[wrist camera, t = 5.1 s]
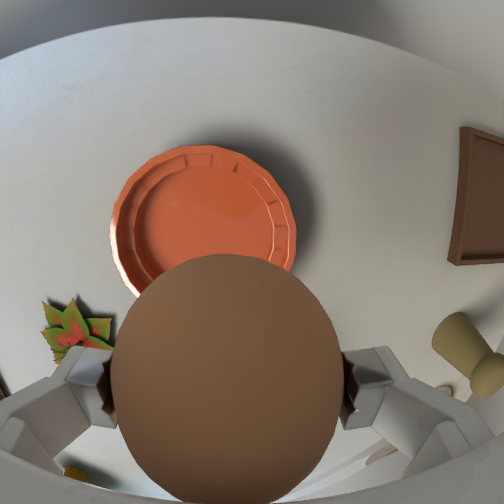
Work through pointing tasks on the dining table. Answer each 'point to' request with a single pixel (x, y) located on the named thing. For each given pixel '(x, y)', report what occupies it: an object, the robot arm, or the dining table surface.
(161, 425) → the egg
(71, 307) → the lily flower
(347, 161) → the dining table surface
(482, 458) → the robot arm
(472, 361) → the cork
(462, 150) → the tray
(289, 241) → the bowl
